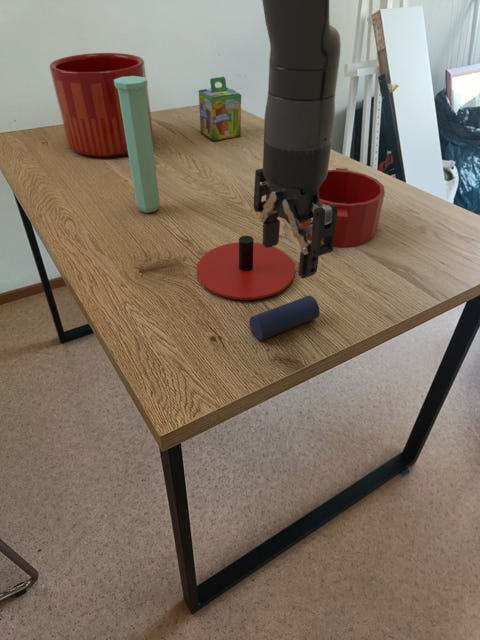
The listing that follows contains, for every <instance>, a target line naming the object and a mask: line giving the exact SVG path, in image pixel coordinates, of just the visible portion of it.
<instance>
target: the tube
mask: <svg viewBox="0 0 480 640" xmlns="http://www.w3.org/2000/svg"><path fill="white" fill-rule="evenodd" d="M319 316H320V306H319V303H318V301H317V300H316V299H315V297H314V296H313V295H306V296H303V297H301V298H298V299H296V300H293V301H290V302H288V303H285V304H282V305H279V306H277V307H274V308H271V309H269V310H266V311H264V312H260V313H258V314H255V315H252V316H251V317H249V320H248V322H249V323H248V324H249V329H250V331H251V333H252V335H253V337H254V338H255V340H257V341H263V340H266V339H268V338H270V337H273V336H275V335H277V334H281V333H282V332H285V331H287V330H291V329H293V328H295V327H298V326H300V325H303V324H305V323H308V322H310V321H313V320H315V319H317V318H319Z"/></svg>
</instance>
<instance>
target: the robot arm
mask: <svg viewBox="0 0 480 640" xmlns="http://www.w3.org/2000/svg"><path fill="white" fill-rule="evenodd" d="M261 2H262V7H263V8H262V9H263V15H264V21H265V26H266V31H267V35H268V41H269V58H268V59H269V60H268V82H267V84H268V85H267V88H268V89H267V98H266V104H265V111H264V126H263V151H262V152H263V153H262V156H263V157H262V167H261V168H257V169H255V173H254V188H253V189H254V190H253V204H252V205H253V207H252V208H253V210H254V212H256V213H260V214H259V217H260V220H261V222H262V244H263V245H264V246H265V247H266V248H268V247H275V246H277V245H278V244H279V241H280V228H281V220H280V219H284V220H285V221H286V223H287V224H289V225H290V229H291V232H292V235H293V237H295V238H297V240H298V244H299V247H300V250H301V251H300V253H299V263H298V272H297V275H298V276H299V277H300V278H302V279H306V278H310V277H313V276H314V275H316V273H317V271H318V264H319V259H320V257H321V256H323V255H327V254H329V253H333V251H334V248H335V247H334V238H335V229H336V220H337V211H338V210H337V206H336V205H335V204H331V205H325V204H323V203H321V202H320V198H319V188H320V186H321V184H322V183H323V182H324V180H325V179H326V177H327V173H328V170H329V165H330V157H331V149H332V143H333V136H334V135H333V134H334V127H335V120H336V91H337V87H338V85H337V84H338V78H339V69H340V61H341V52H342V51H341V49H342V42H341V41H342V40H341V34H340V33H339V31H338V29H337V28H336V27H334V26H333V25H331V24H330V0H262V1H261ZM263 196H265V200H263V201H262V199H263ZM279 218H280V219H279ZM309 218H310V221H311V225H310V226H308V227H305V228H302V227H301V226H300V224H301V223H305V222H306V221H308V219H309ZM307 233H310V234H311V236H312V238H311V240H310V242H309V239H307V237H306V234H307ZM323 238H325V239H324V243H323V242H322V239H323Z"/></svg>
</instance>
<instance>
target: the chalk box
mask: <svg viewBox="0 0 480 640" xmlns="http://www.w3.org/2000/svg"><path fill="white" fill-rule="evenodd" d="M209 80H210V81H209V82H210V83H209V84H210V88H204V89H199V90H198V103H199V104H198V105H199V106H198V107H199V108H198V109H199V124H200V133H201V134H203V135H204V136H205V137H207V138H209V140H211V141H213V142H215V141H221V140H227V139H235V138H241V137H242V136H241V135H242V134H241V133H242V131H241V129H242V128H241V127H242V122H241V121H242V94H240V93H239V92H237V91H236V90H235V89H232V88H229V87H227V82H226V81H227V80H226V77H225V76H219V77H218V76H217V77H211V78H210V79H209ZM217 83H220V84H221V87H220V86H219V87H216V84H217Z"/></svg>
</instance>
